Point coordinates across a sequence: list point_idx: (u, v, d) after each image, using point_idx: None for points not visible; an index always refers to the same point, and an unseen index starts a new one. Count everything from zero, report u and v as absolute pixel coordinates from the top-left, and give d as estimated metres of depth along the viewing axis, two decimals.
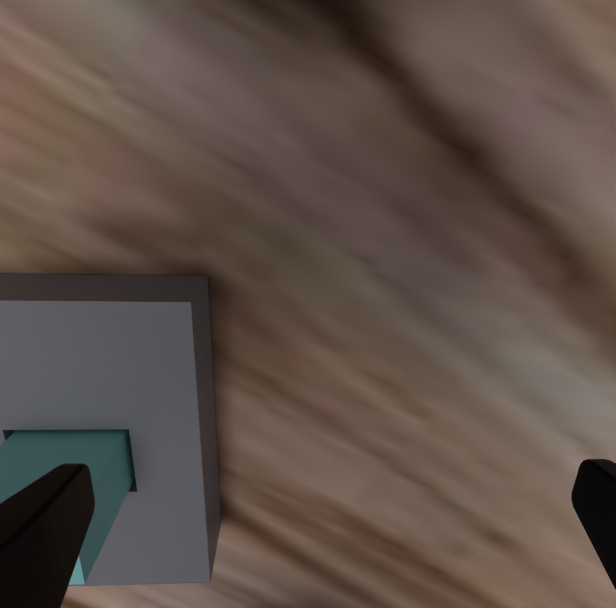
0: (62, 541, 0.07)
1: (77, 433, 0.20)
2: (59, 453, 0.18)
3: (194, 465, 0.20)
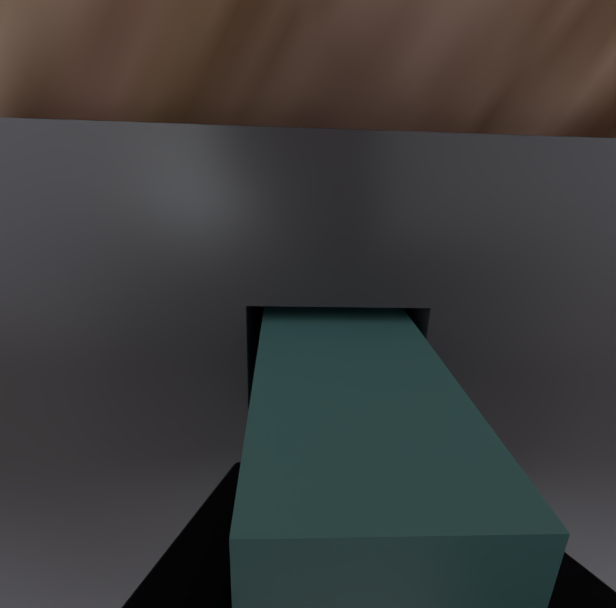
0: None
1: None
2: None
3: (363, 152, 0.07)
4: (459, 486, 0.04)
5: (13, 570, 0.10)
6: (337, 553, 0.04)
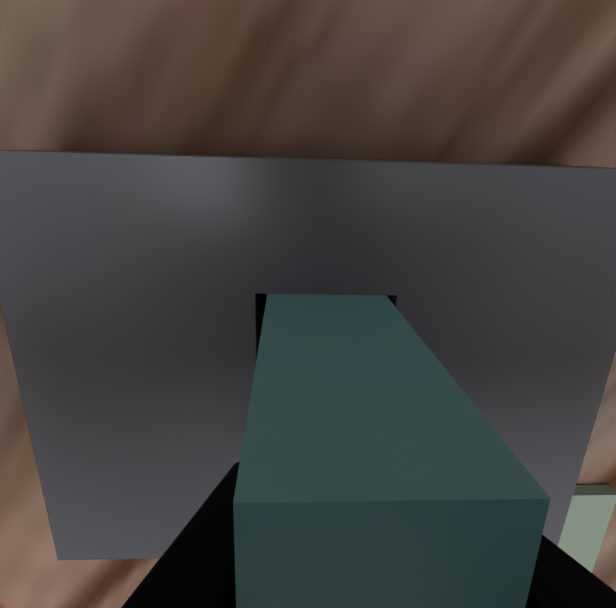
0: None
1: None
2: None
3: (343, 177, 0.10)
4: (448, 460, 0.05)
5: (66, 508, 0.13)
6: (333, 517, 0.04)
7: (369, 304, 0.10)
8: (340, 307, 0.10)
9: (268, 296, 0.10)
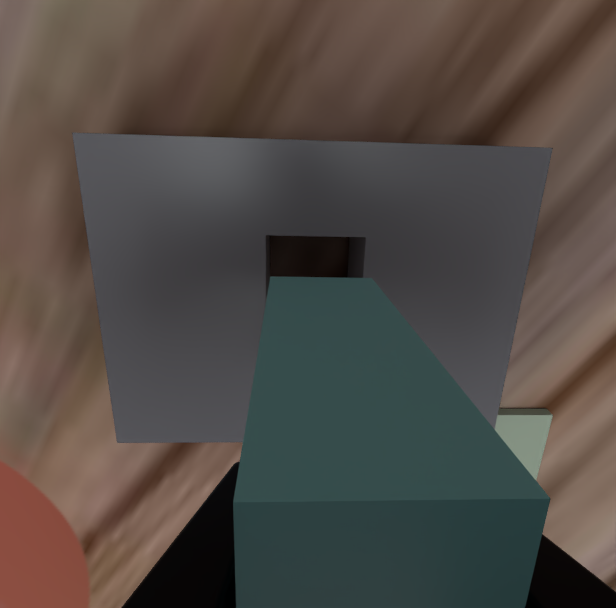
0: None
1: None
2: None
3: (327, 152, 0.14)
4: (448, 460, 0.05)
5: (125, 399, 0.17)
6: (333, 517, 0.04)
7: (369, 304, 0.10)
8: (339, 308, 0.10)
9: (268, 296, 0.10)
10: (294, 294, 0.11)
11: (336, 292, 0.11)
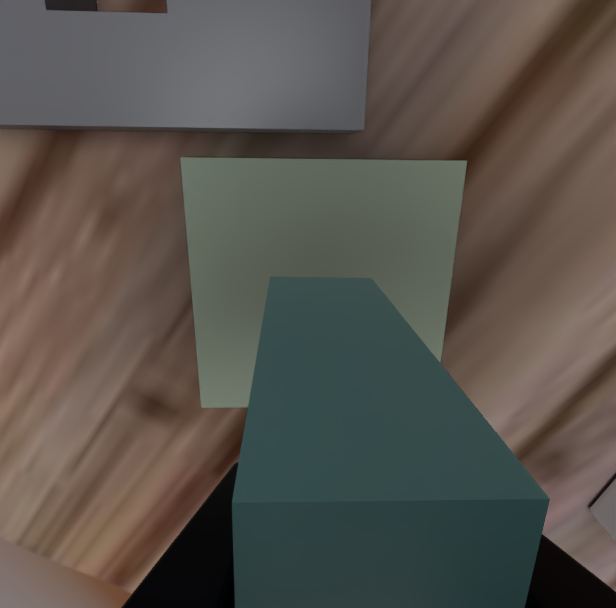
0: None
1: None
2: None
3: None
4: (447, 460, 0.05)
5: None
6: (332, 517, 0.04)
7: (369, 304, 0.10)
8: (339, 308, 0.10)
9: (268, 296, 0.10)
10: (293, 294, 0.11)
11: (336, 292, 0.11)
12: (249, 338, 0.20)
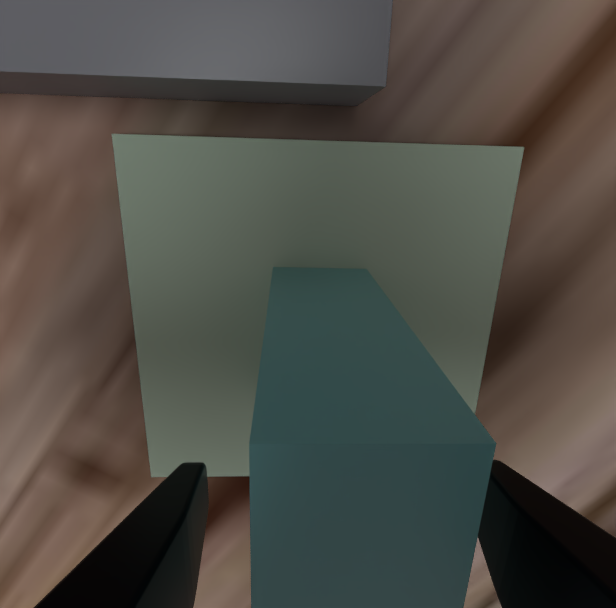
0: (195, 539, 0.07)
1: None
2: None
3: None
4: (419, 416, 0.06)
5: None
6: (327, 456, 0.05)
7: (363, 293, 0.11)
8: (336, 296, 0.11)
9: (271, 285, 0.12)
10: (295, 283, 0.12)
11: (333, 281, 0.12)
12: (215, 387, 0.15)
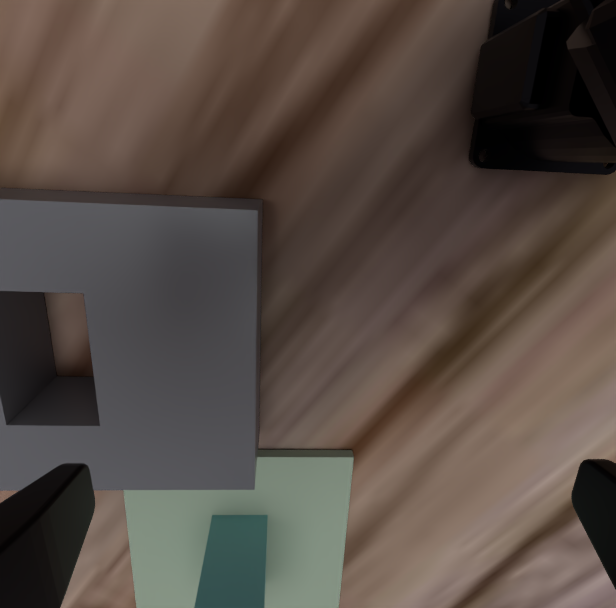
0: (62, 541, 0.07)
1: None
2: None
3: (26, 211, 0.14)
4: None
5: None
6: None
7: (254, 559, 0.21)
8: (238, 564, 0.20)
9: (206, 549, 0.21)
10: (219, 545, 0.21)
11: (242, 540, 0.22)
12: (178, 575, 0.24)
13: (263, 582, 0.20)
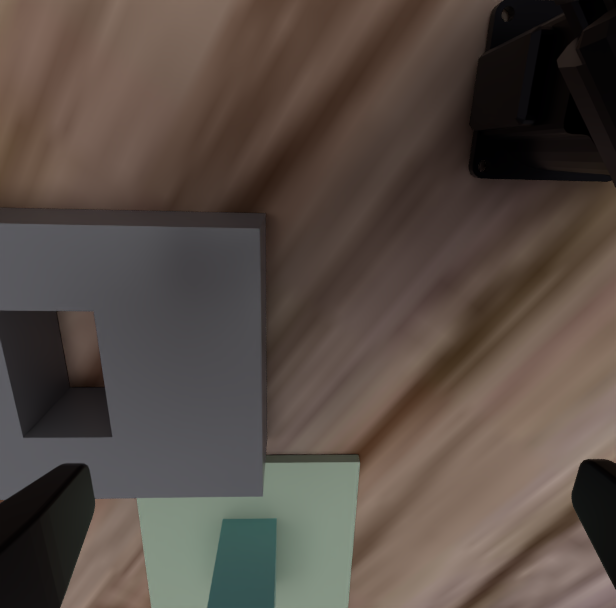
0: (62, 541, 0.07)
1: None
2: None
3: (37, 234, 0.15)
4: None
5: None
6: None
7: (263, 562, 0.21)
8: (248, 568, 0.21)
9: (217, 552, 0.22)
10: (230, 548, 0.22)
11: (252, 544, 0.22)
12: (191, 576, 0.25)
13: (273, 585, 0.20)
